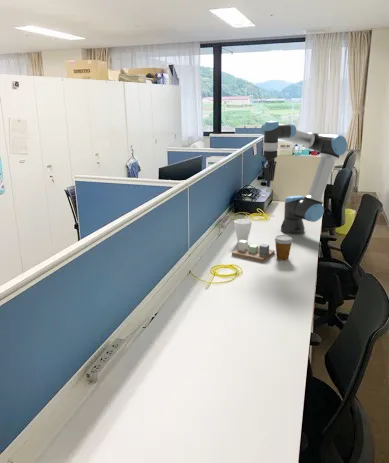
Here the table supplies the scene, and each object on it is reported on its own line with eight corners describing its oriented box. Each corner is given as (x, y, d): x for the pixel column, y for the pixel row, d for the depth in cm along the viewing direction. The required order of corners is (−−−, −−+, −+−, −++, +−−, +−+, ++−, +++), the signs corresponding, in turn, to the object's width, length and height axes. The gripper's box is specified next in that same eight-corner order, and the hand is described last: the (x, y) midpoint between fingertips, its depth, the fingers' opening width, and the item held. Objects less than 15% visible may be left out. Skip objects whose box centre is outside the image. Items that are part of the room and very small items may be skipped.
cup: (250, 239, 253) (251, 218, 249) (251, 245, 243) (252, 224, 239) (233, 239, 254) (234, 218, 250) (233, 245, 244) (234, 223, 240)
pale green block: (251, 252, 232) (251, 244, 231) (258, 253, 230) (258, 245, 229) (248, 254, 229) (248, 246, 228) (254, 256, 227) (255, 247, 225)
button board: (244, 247, 241) (244, 244, 240) (274, 253, 231) (274, 250, 230) (231, 255, 229) (231, 252, 228) (263, 262, 219) (263, 259, 218)
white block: (241, 247, 235) (241, 239, 234) (247, 249, 233) (248, 240, 232) (238, 249, 232) (238, 241, 231) (244, 251, 230) (244, 242, 228)
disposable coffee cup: (290, 255, 228) (291, 234, 224) (292, 261, 219) (293, 240, 215) (272, 255, 229) (273, 234, 225) (274, 261, 220) (275, 240, 216)
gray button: (262, 252, 228) (262, 243, 227) (268, 253, 226) (269, 245, 225) (259, 254, 225) (259, 245, 224) (265, 255, 223) (266, 247, 221)
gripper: (269, 148, 233) (267, 189, 240) (259, 151, 223) (257, 193, 230) (281, 149, 229) (279, 190, 236) (271, 152, 219) (270, 195, 226)
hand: (268, 192), depth 233 cm, fingers closed
